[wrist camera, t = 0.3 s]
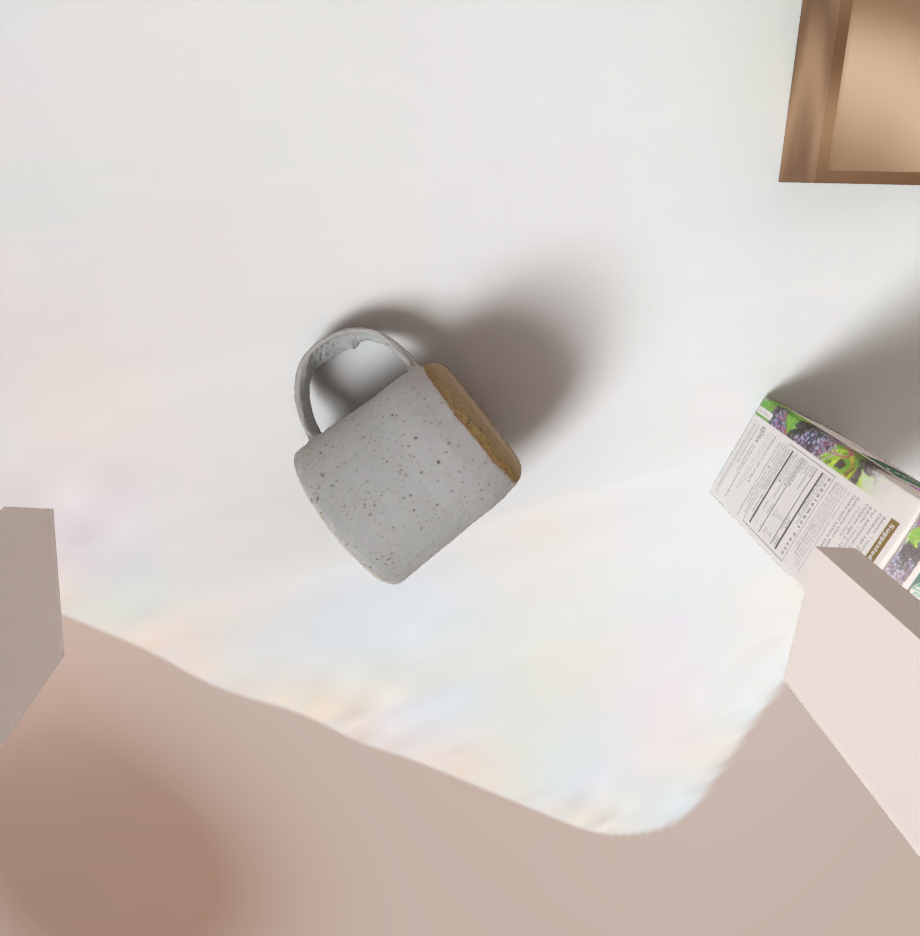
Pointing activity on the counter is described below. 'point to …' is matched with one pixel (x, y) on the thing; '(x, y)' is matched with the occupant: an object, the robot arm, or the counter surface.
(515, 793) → the counter surface
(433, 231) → the counter surface
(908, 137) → the walnut plinth
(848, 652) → the robot arm
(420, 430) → the ceramic mug
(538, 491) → the counter surface
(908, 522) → the syrup box
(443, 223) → the counter surface
